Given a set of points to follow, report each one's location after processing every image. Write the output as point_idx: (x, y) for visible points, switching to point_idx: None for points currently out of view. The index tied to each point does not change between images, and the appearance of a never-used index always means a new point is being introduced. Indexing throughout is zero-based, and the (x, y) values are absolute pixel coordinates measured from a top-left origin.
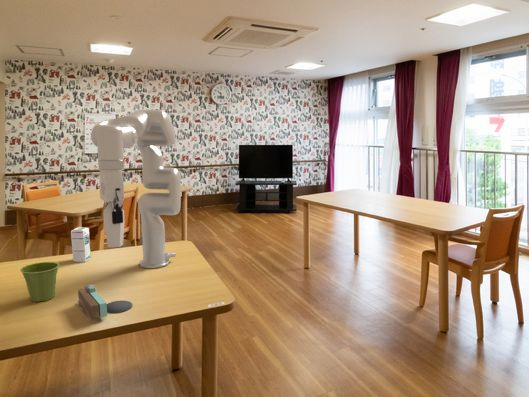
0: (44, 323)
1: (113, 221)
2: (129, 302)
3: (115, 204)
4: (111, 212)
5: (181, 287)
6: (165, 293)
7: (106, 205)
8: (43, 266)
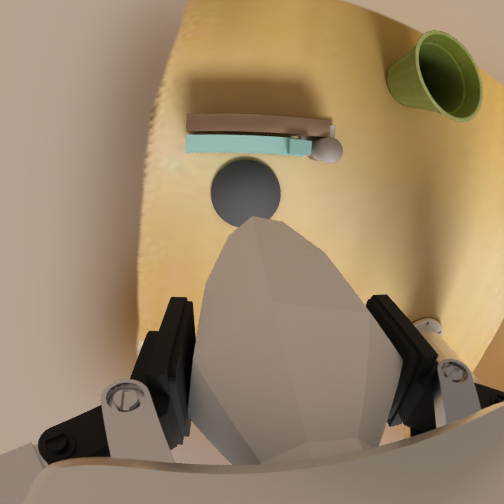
0: (264, 39)
1: (167, 310)
2: None
3: None
4: (199, 366)
5: None
6: None
7: (434, 386)
8: (471, 99)
